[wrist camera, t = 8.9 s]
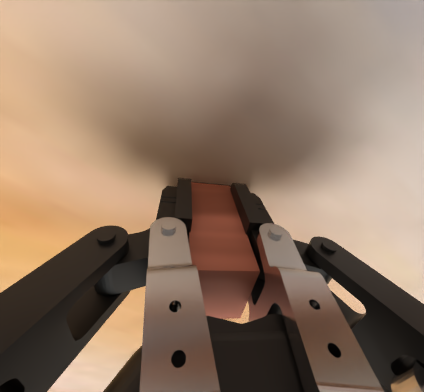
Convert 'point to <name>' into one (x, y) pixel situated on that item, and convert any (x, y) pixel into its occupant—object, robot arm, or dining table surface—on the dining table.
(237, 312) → the corded block
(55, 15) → the dining table surface
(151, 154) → the dining table surface
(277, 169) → the dining table surface
